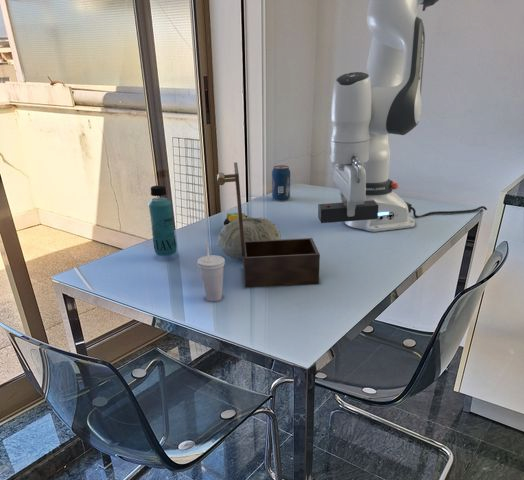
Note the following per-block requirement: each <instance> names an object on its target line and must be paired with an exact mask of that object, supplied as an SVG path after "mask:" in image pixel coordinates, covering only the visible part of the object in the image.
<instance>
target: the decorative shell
mask: <svg viewBox="0 0 524 480" xmlns="http://www.w3.org/2000/svg"><path fill="white" fill-rule="evenodd" d="M242 221H243V233H244V241H262V240H281V232H280V230H279V229H278V227H277V226H276V223H273V222H272V221H270V220H269V219H267V218H265V217H264V218H263V217H251V216H247V217H243V218H242ZM223 226H224V227H223V228H222V229H221V230H220V232H219V235H218V237H217V246H218V247H219V249H220V250H221V251H222V252H223V253H224V254H225V255H226V256H228V257H230V258H232V259H239V260H243V257H242V250H241V240H240V229H239V218H238V219H236V220H234V221H231V222H230V223H229V224H225V225H223Z"/></svg>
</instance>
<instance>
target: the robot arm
mask: <svg viewBox="0 0 524 480" xmlns="http://www.w3.org/2000/svg"><path fill="white" fill-rule="evenodd" d="M439 1H440V0H369V1H368V6H367V11H366V24H367V28H368V30H369V32H370V34H371V35H372V38H371V42H370V43H371V44H370V47H369V53H368V57H367V62H366V72H364V71H363V72H362V71H354V72H349V73H344V74H341V75H340V76H338V77H336V79H335V81H334V85H333V89H332V97H331V98H332V99H331V111H330V112H331V113H330V120H331V124H332V134H331V137H330V146H329V155H330V162H331V164H332V178H333V179H332V180H333V183H334V185H335V186H336V188H337V189H338V190H339V195H340V196H339V197H340V203H343V202H347V208H346V214H347V216H348V217H351V216H354V215H355V208H356V204H359V203H364V201H370V200H374V201H375V202H376V203H377V204H378V205H379V206H378V219H372V220H358V221H345V222H344V223H345V225H347V226H348V227H351V228H354V229H358V230H365V231H368V232H372V233H376V232H384V231H385V232H386V231H393V230H400V229H402V230H403V229H411V228H414V227H415V225H416V221H415V219H414V218H416V219H417V218H418V219H419V218H424V217H427V216H430V215H440V214H441V215H443V214H445V215H447V214H464V213H474V212H477V211H479V210H481V209H483V210H484V211H488V208H487V207H486V206H484V205H480V206H479V207H477V208H473V209H465V210H446V211H445V210H443V211H440V210H439V211H437V210H436V211H429V212H427V213H424V214H422V215H417V213H416V209H415V207H413V204H411V203H409V202H407V201H405V200H404V199H402V198H401V197H400V196H399V195H398V194H397V193H395V192H394V191H396V190H397V189H398V188H399V184H398V183H397V181H393V180H392V179H390V178H389V174H390V166H391V165H390V164H391V156H392V155H391V154H392V153H391V148H390V140H389V135H390V134H392V135H399V136H405V135H407V134H408V133H410V132H411V131H412V130H414V129H415V128H416V126H418V125H419V122H420V119H421V116H422V87H423V86H422V84H423V73H424V60H425V44H426V43H425V42H426V41H425V40H426V34H425V27H424V26H425V25H424V22H423V19H422V18H420V17H419V16H418V10H419V5H422V12H425V11H426V9H427V8H428V7H431V6H434V5H435V4H436V3H438V2H439ZM393 190H394V191H393ZM411 212H412V214H413V217H414V218H413V217H412V216H410V214H411ZM409 213H410V214H409Z"/></svg>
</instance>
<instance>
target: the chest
mask: <svg viewBox="0 0 524 480" xmlns="http://www.w3.org/2000/svg"><path fill="white" fill-rule="evenodd" d="M244 245H245V256H243V259H242V267H243V268H242V269H243V279H244V288H246V289H247V288H265V287H282V286H283V287H284V286H301V285H302V286H303V285H319V284H320V266H321V265H320V264H321V263H320V261H321V254H320V252H319V249H318V247H317V246H316V243H315V241H314V238H313V237H305V238H285V239H280V240H262V241H244Z"/></svg>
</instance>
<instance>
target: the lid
mask: <svg viewBox="0 0 524 480" xmlns="http://www.w3.org/2000/svg"><path fill="white" fill-rule="evenodd" d="M233 170H234V173H230V174H229V173H228V174H225V173H224V172H219V173H218V174H217V177H216V181H217V184H218V185H220V186H224V185H225V184H226V183H234V182H235V191H236V192H235V194H236V204H237V212H238V217H239V229H240V240H241V250H242V257H243V256H245V245H244V233H243V221H242V213H243V212H242V211H243V209H242V198H241V197H242V196H241V186H240V185H241V184H240V175H239V173H240V172H239V167H238V162H237V161H236V162H233Z"/></svg>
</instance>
